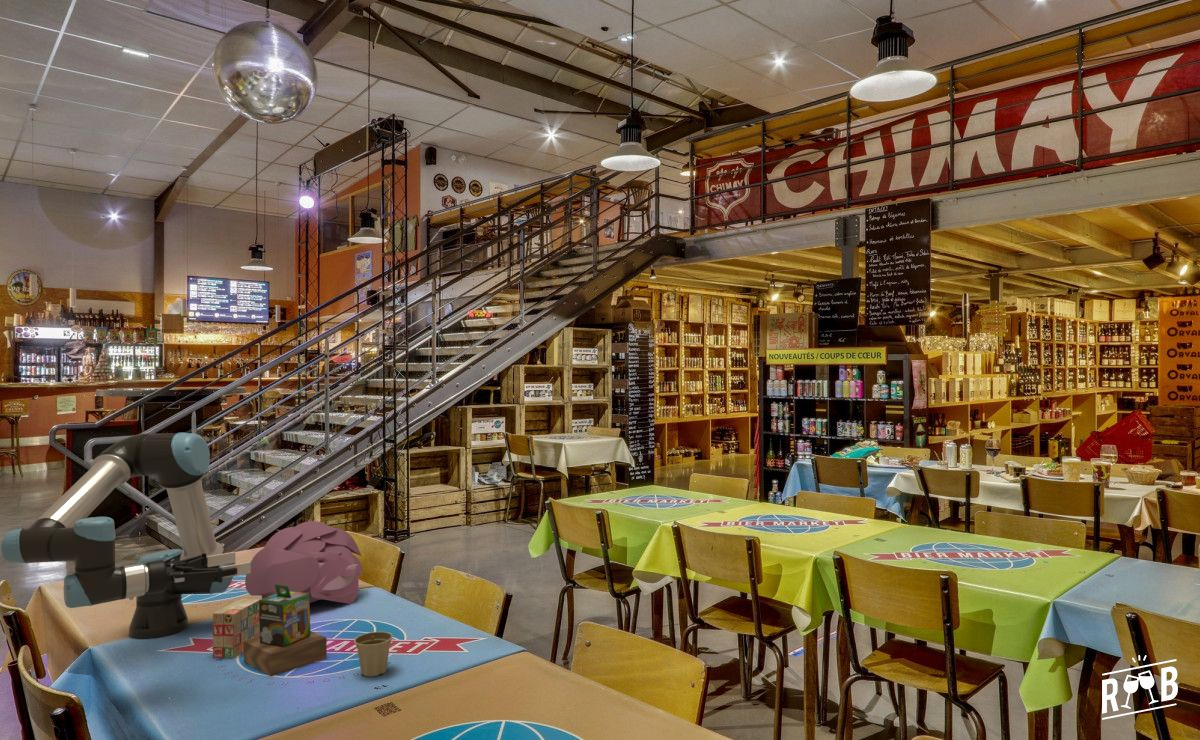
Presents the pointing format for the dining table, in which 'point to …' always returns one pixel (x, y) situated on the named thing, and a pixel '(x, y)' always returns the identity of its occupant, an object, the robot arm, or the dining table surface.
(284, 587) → the chalk box
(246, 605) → the stack of blocks
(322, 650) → the walnut base block
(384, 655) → the flower pot
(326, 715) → the dining table surface
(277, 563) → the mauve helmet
